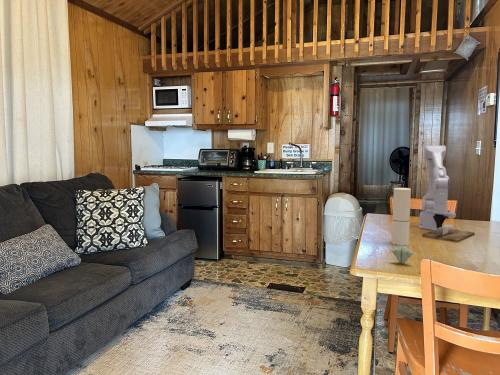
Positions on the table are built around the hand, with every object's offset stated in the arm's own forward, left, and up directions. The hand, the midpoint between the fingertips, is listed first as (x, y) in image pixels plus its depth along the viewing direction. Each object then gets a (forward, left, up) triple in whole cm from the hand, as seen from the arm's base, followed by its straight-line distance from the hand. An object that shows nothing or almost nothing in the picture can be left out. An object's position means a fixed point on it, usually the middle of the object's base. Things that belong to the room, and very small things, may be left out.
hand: (439, 230), depth 185 cm
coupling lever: (+2, +2, -2) cm, 3 cm away
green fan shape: (+8, -53, -4) cm, 54 cm away
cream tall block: (-7, -25, -4) cm, 26 cm away
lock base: (+2, +6, -3) cm, 7 cm away
